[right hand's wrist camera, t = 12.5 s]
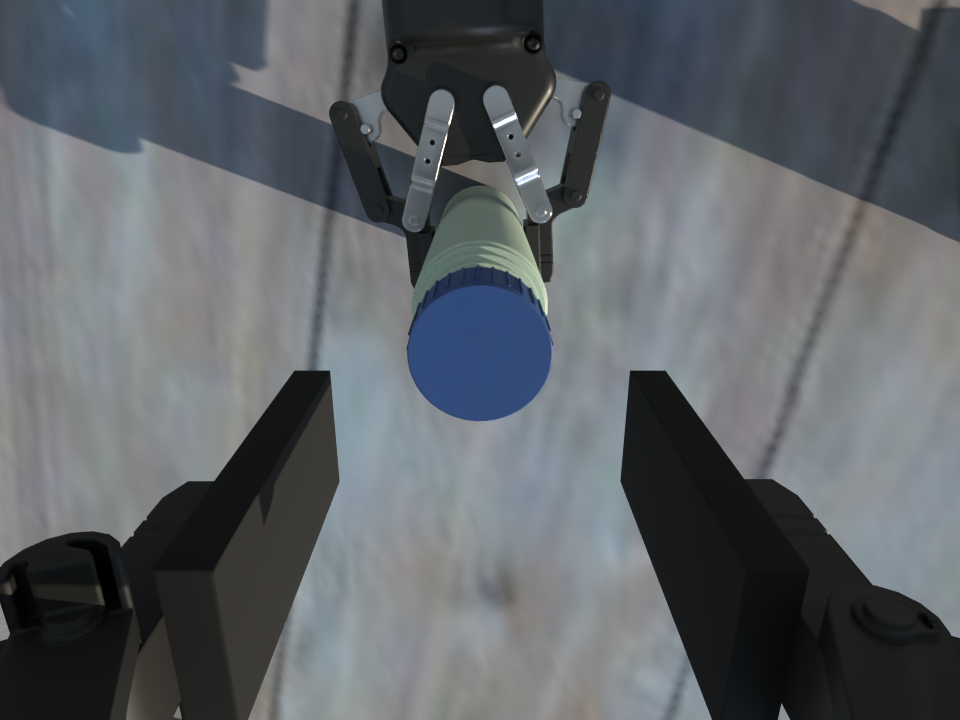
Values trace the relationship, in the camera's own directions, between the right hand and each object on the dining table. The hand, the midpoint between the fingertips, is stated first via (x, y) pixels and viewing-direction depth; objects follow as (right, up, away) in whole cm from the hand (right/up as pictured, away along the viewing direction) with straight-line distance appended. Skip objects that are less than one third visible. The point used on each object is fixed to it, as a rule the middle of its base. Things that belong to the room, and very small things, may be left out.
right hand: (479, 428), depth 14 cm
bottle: (0, +10, +27) cm, 28 cm away
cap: (0, +2, +5) cm, 5 cm away
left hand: (0, +5, +21) cm, 22 cm away
